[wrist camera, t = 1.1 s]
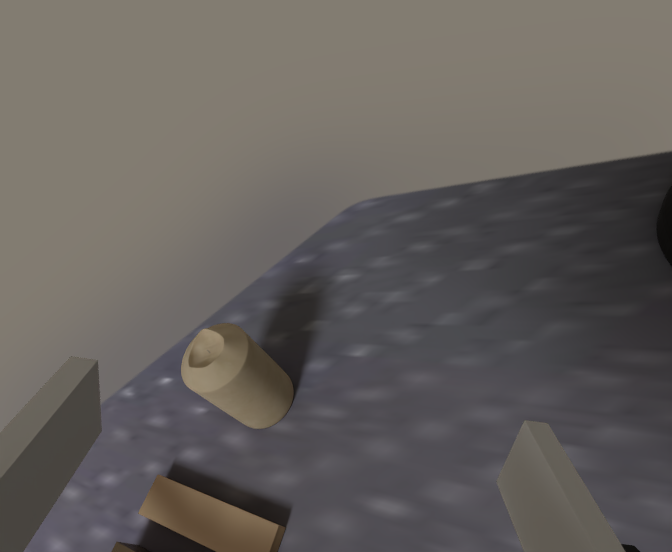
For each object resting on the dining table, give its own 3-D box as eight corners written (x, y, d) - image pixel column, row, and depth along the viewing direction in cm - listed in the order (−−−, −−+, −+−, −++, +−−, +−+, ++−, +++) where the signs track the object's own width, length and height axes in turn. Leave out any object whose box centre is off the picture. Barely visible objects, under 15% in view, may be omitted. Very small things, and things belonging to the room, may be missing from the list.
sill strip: (166, 477, 37) (157, 474, 37) (285, 527, 32) (278, 525, 31) (147, 515, 36) (138, 513, 35) (269, 574, 31) (261, 573, 30)
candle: (237, 377, 41) (173, 324, 33) (292, 362, 40) (239, 304, 32) (236, 436, 38) (164, 393, 30) (296, 421, 37) (237, 372, 29)
